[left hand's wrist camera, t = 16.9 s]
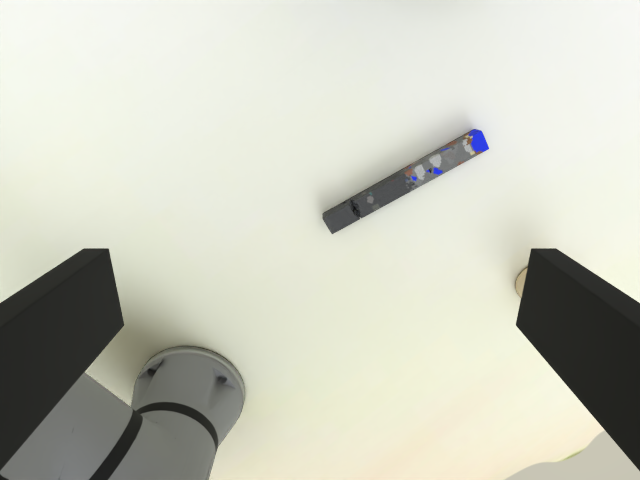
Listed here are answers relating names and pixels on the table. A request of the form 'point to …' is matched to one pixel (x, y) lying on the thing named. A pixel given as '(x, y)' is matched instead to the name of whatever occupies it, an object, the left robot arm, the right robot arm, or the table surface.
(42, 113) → the table surface
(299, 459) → the table surface
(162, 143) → the table surface
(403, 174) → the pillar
